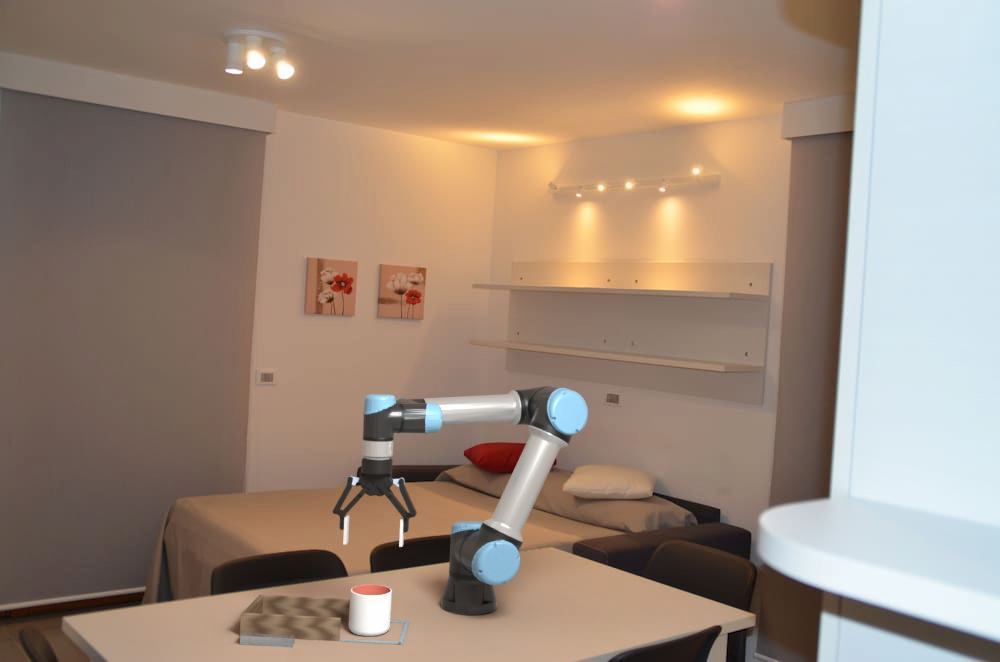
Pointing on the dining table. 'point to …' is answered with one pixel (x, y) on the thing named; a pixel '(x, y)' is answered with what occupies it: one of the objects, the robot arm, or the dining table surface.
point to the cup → (370, 610)
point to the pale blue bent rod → (385, 641)
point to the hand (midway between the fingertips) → (373, 544)
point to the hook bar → (266, 639)
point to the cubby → (296, 616)
